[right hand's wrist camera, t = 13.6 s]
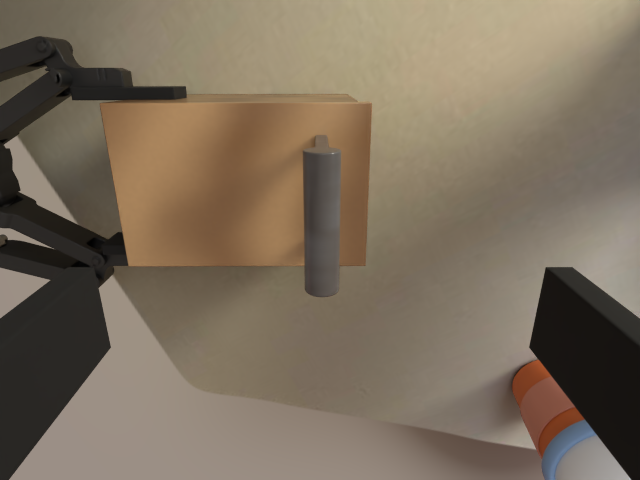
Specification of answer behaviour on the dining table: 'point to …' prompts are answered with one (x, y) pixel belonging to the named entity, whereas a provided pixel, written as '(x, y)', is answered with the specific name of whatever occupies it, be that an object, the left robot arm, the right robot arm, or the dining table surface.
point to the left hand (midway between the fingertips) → (189, 172)
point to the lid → (243, 184)
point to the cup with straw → (561, 430)
